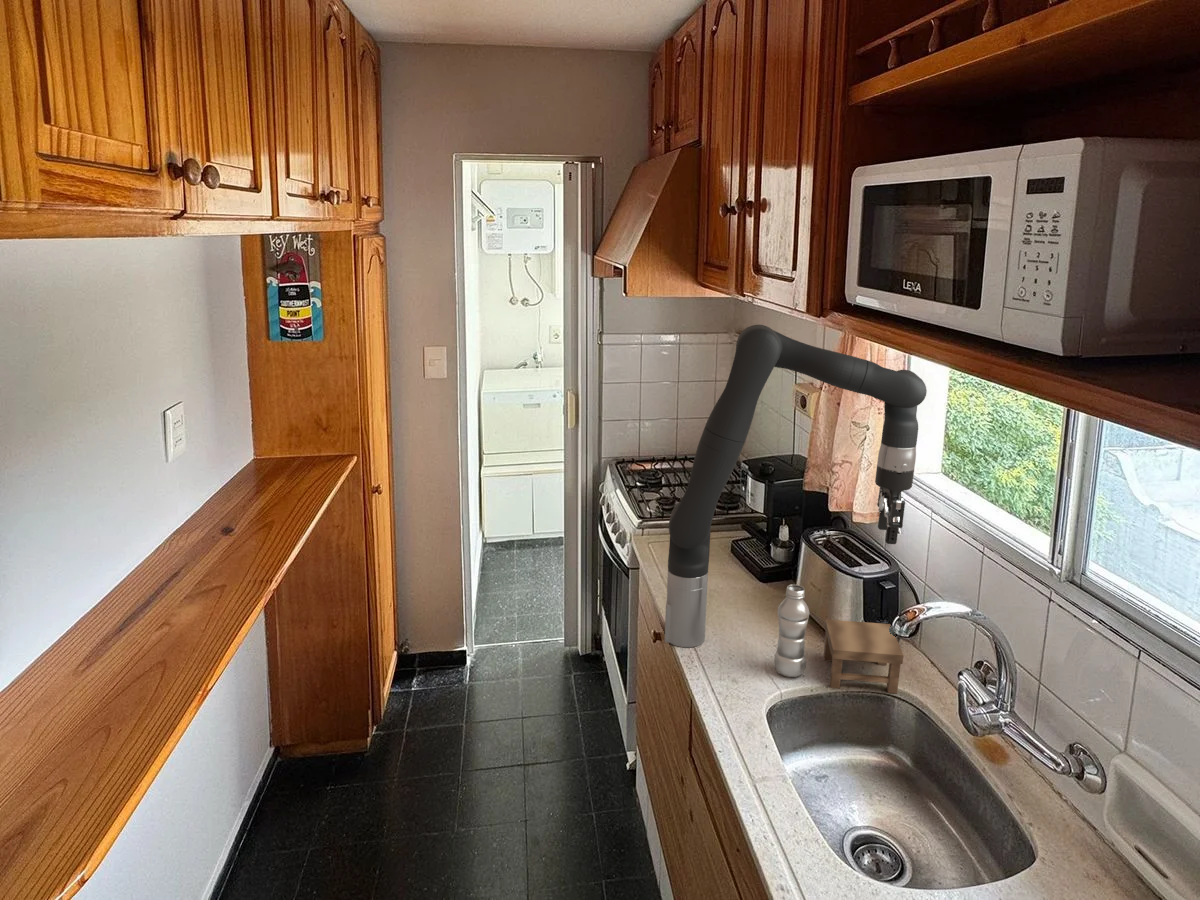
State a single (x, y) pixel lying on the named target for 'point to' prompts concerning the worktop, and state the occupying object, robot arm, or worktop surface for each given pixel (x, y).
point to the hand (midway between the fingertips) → (886, 536)
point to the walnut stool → (862, 650)
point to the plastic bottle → (792, 633)
